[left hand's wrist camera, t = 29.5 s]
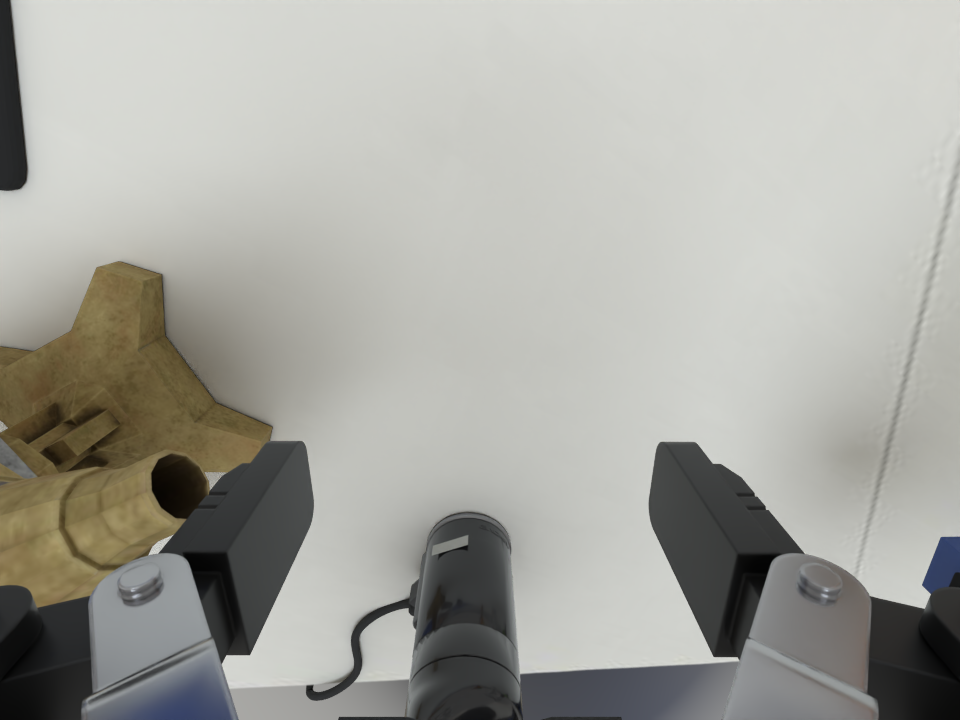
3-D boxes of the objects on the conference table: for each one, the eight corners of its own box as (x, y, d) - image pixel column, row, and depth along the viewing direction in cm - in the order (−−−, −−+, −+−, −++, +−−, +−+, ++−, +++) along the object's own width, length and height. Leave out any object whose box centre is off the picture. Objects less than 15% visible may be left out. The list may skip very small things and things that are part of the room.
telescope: (433, 379, 50) (293, 1033, 12) (115, 526, 56) (-608, 1249, 19) (304, 155, 42) (-1003, 103, 5) (-45, 354, 49) (-1758, 979, 11)
